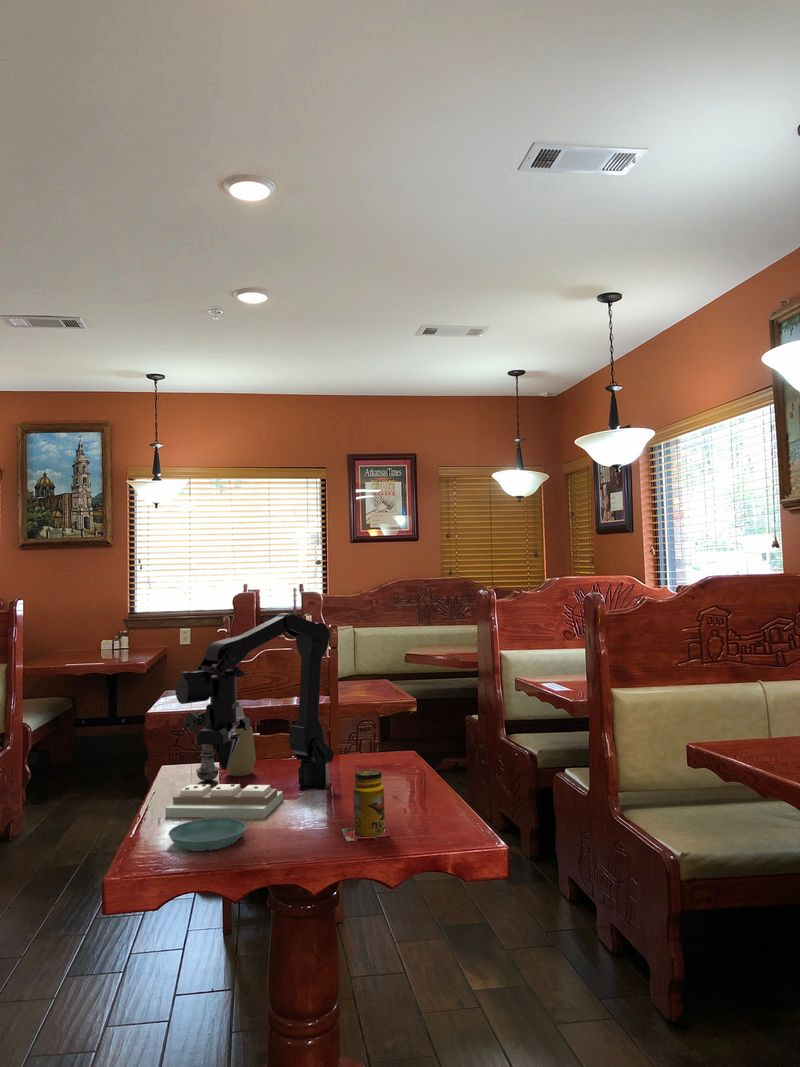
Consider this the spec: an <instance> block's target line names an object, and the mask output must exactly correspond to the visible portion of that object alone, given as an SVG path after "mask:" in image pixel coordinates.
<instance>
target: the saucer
mask: <svg viewBox="0 0 800 1067" xmlns="http://www.w3.org/2000/svg"><path fill="white" fill-rule="evenodd" d="M246 829H247V825H246V824H245V823H244V822H243V821H241V820H239V819H235V818H201V819H198V820H191V821H187V822H184V823H180V824H179V825H176V826H174V827H172V828H170V830H169V831H168V834H167V835H168V836H169V838H170V840H172V842H173V843H174V844H175V845H176V846H177V847H179V848H181V849H182V850H185V851H190V850H191V852H206V851H205V850H209V851H214V850H213V849H215V850H220V849H224V848H227V847H229V846H231V844H232V845H233V844H235V843H236V842H237V841H238V839H240V838H241V836H242V835H243V834H244V832H245V831H246ZM226 846H227V847H226ZM223 847H224V848H223ZM219 848H220V849H219Z"/></svg>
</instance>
